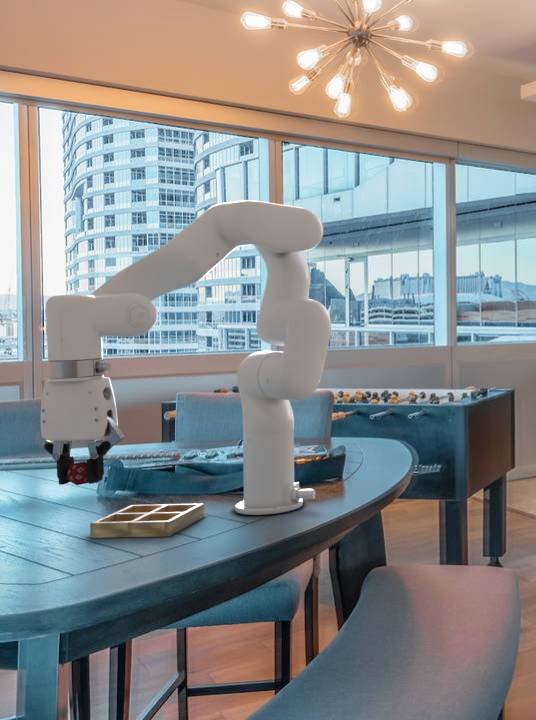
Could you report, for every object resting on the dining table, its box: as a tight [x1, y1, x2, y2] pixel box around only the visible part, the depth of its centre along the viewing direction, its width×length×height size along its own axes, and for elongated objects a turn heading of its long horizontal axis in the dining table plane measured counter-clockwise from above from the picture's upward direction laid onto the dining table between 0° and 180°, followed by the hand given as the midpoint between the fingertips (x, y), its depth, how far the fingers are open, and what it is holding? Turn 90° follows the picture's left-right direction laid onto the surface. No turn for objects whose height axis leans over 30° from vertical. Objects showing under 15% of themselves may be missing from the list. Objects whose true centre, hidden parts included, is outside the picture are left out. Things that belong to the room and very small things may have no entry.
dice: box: [65, 461, 89, 486], centre depth 131 cm, size 4×4×4 cm
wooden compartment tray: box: [89, 503, 205, 539], centre depth 148 cm, size 14×14×3 cm
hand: (81, 481), depth 131 cm, fingers closed on dice, 3 cm apart
